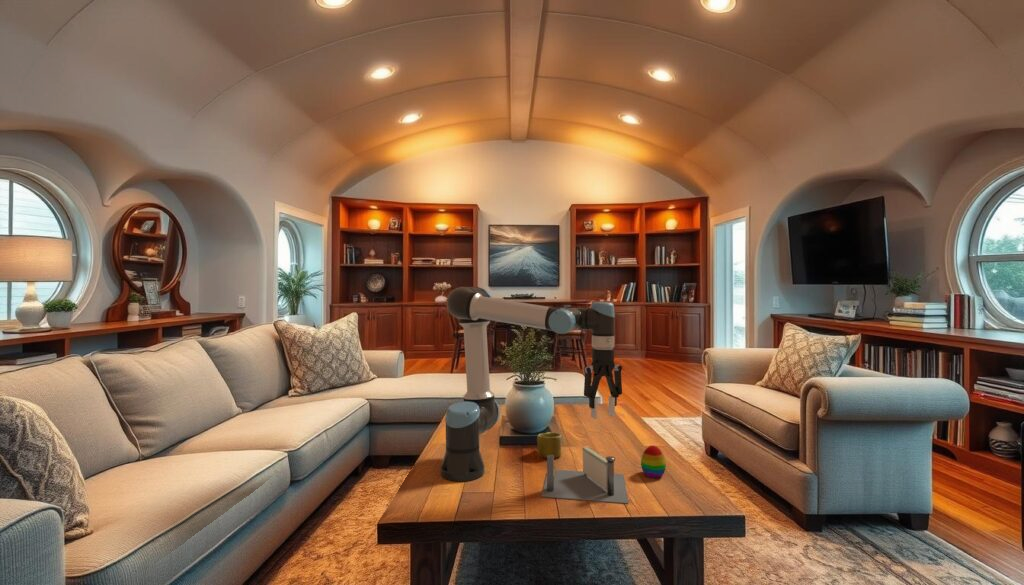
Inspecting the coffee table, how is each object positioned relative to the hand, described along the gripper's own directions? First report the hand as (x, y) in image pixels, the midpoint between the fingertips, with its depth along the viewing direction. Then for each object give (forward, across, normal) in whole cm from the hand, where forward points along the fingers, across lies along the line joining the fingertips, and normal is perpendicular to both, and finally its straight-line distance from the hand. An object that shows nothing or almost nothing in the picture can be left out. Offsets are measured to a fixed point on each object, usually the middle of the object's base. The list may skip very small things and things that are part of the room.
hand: (603, 416), depth 156 cm
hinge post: (+21, -4, -12) cm, 25 cm away
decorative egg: (+21, +18, -3) cm, 28 cm away
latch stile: (+21, -21, -3) cm, 29 cm away
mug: (+21, -7, +28) cm, 35 cm away
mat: (+21, -8, -3) cm, 23 cm away
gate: (+20, -4, -3) cm, 21 cm away
